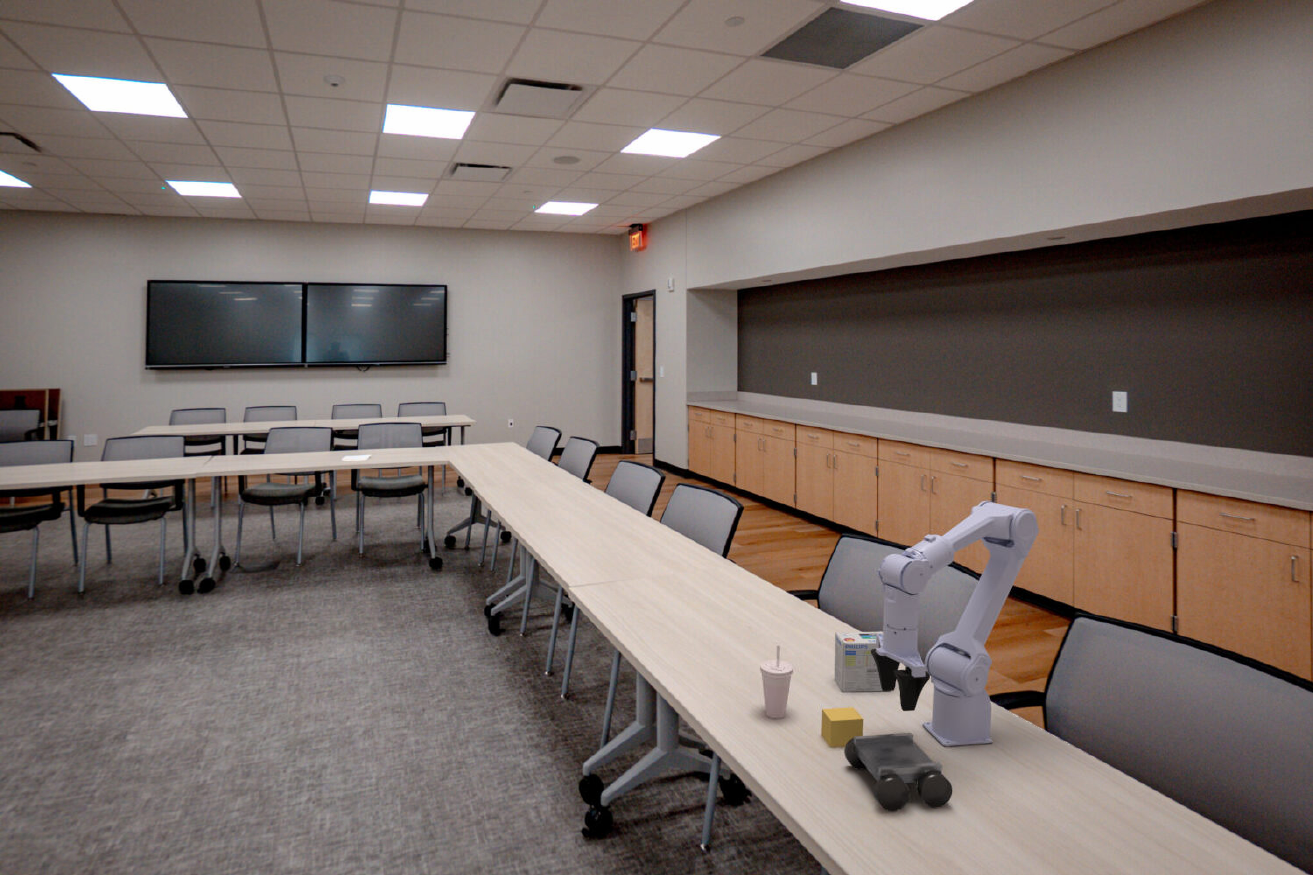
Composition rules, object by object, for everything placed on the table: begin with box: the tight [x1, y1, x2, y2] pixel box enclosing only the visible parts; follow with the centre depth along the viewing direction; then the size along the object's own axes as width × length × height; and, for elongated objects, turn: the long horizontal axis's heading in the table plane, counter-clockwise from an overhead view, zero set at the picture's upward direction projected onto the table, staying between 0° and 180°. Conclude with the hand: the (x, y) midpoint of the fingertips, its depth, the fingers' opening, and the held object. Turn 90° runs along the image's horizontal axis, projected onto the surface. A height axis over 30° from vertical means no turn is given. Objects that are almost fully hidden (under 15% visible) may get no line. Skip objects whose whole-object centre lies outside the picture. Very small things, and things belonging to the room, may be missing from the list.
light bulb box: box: [834, 630, 884, 693], centre depth 154 cm, size 11×7×11 cm, turn 92°
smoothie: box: [759, 644, 794, 720], centre depth 141 cm, size 6×6×14 cm
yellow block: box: [820, 706, 864, 748], centre depth 132 cm, size 6×4×5 cm
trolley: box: [843, 732, 953, 812], centre depth 117 cm, size 12×13×6 cm
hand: (897, 699), depth 127 cm, fingers open, 7 cm apart
